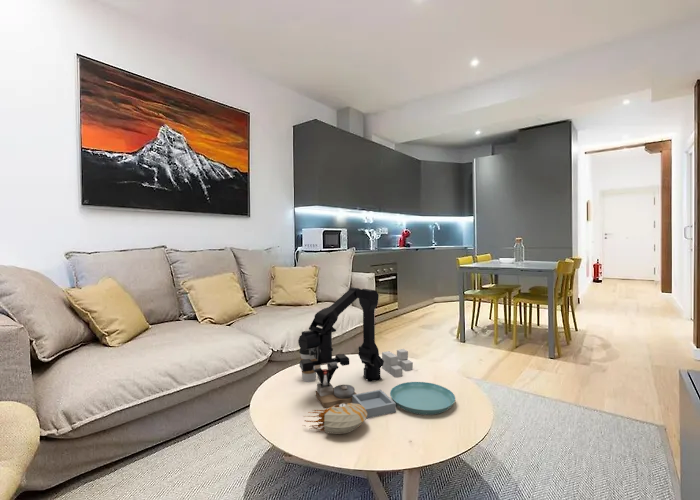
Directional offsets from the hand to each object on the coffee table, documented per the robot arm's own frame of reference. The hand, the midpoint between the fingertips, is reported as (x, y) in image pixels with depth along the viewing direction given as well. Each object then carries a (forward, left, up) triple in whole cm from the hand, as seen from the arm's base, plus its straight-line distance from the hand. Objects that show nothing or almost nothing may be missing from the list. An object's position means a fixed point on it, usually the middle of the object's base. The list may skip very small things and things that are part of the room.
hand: (324, 383), depth 141 cm
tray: (-14, +15, -6) cm, 21 cm away
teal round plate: (-33, +18, -6) cm, 38 cm away
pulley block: (-4, +3, -6) cm, 7 cm away
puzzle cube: (-40, -13, -6) cm, 43 cm away
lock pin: (0, 0, -4) cm, 4 cm away
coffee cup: (+1, -19, -6) cm, 20 cm away
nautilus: (+4, +22, -6) cm, 23 cm away
